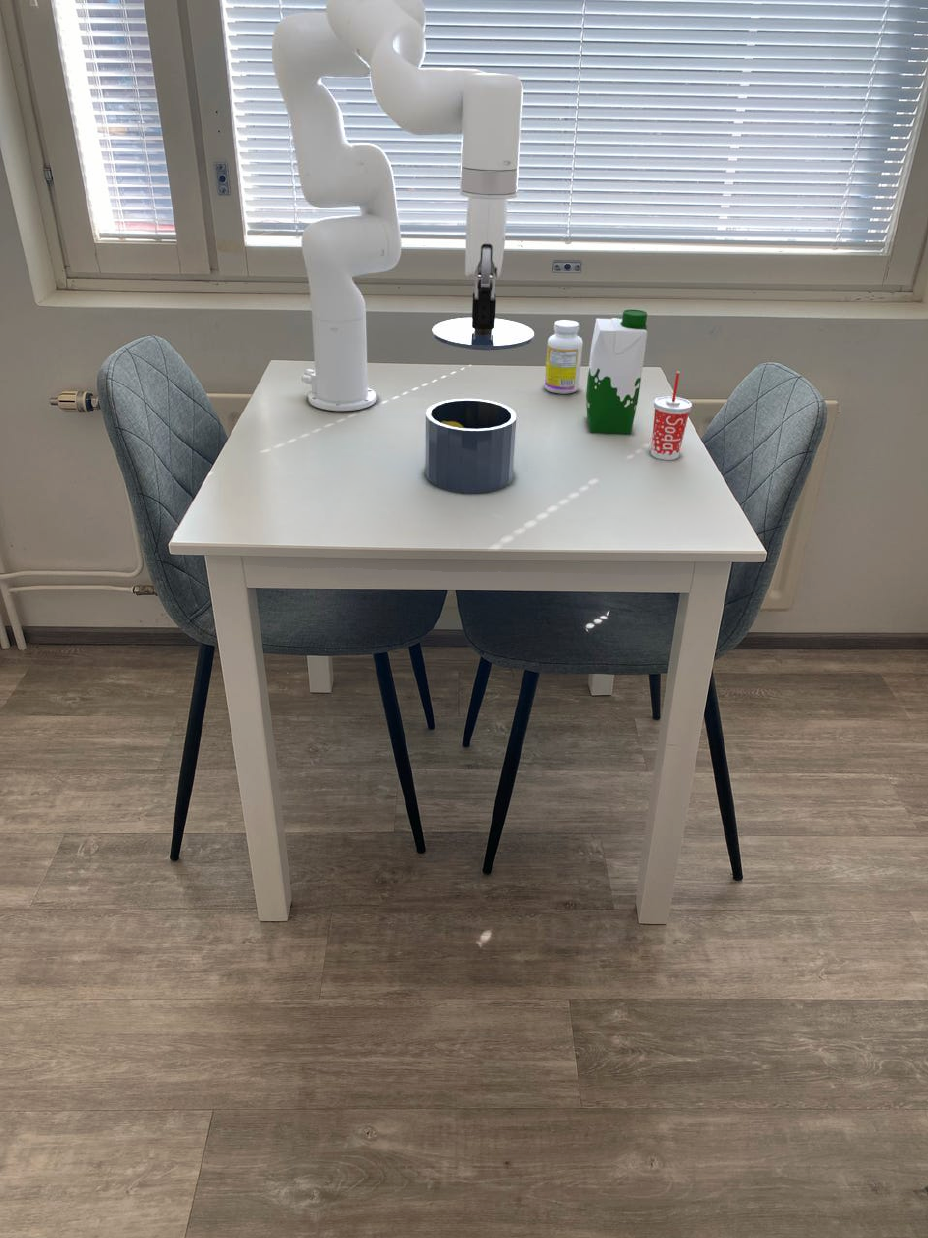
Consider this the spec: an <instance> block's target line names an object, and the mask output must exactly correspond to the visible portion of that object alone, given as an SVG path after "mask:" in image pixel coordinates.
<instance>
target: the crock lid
mask: <svg viewBox="0 0 928 1238" xmlns="http://www.w3.org/2000/svg"><path fill="white" fill-rule="evenodd" d="M478 299H479V297H478ZM490 299H491V297H490ZM431 333H432V337H433V338H434V339H435V340H437V341H438V342H440V343H442V344H445V345H448V346H452V347H456V348H461V349H466V350H473V351H502V350H511V349H517V348H520V347H524V346H527V345H529V344H530V343H532V342H533V341H534V339H535V332H534V330H533V329H532V328H530V327H529V326H527V325H525V324H523V323H520V322H516V321H511V320H506V319H501V318H495V327H494V329H473V328H472V317H462V318H460V317H459V318H454V319H448V320H445V321H441V322H439V323H437V324H435V325H433V328H432V331H431Z"/></svg>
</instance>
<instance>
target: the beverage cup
mask: <svg viewBox="0 0 928 1238" xmlns="http://www.w3.org/2000/svg"><path fill="white" fill-rule="evenodd" d="M680 373H681V372H680V371H676V373H675V379H674V384H673V385H674V386H673V392H672V396H669V395H668V396H659V397H656V398H655V399H654V400H653V408H654V414H653V415H654V416H653V425H652V436H651V449H650V455H651V456H652V457H654V458H656V459H659V460H664V461H672V460H673V461H674V460H675V459H678V458H679V457H680V451H681V447H682V444H683V439H684V435H685V431H686V428H687V427H686V426H687V423H688V419H689V415H690V412H691V411H692V407H693V403H692V402H691V401H690V400H688V399H686V398H683V397H678V396H677V391H678V390H677V389H678V385H679V380H680V379H679V378H680Z"/></svg>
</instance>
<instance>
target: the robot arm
mask: <svg viewBox="0 0 928 1238" xmlns="http://www.w3.org/2000/svg"><path fill="white" fill-rule="evenodd" d="M325 10H326V12H316V11H315V12H314V11H311V12H309V11H308V12H307V11H306V12H305V11H304V12H298V13H292V14H290V15H287V16H285V17H284V18H282V19H280V21H279V22H278V23H277V25H276V26H275V29H274V31H273V35H272V42H271V60H272V67H273V73H274V76H275V80H276V84H277V87H278V89H279V92H280V94H281V98H282V99H283V102H284V105H285V108H286V111H287V114H288V118H289V123H290V129H291V135H292V136H291V137H292V141H293V148H294V152H295V153H294V155H295V160H296V165H297V172H298V177H299V184H300V187H301V192H302V194H303V197H304V199H305V201H306V202H307V203H308V204H309V205H311V206H312V207H315V208H319V209H335V208H336V209H337V208H349V207H359V209H360V213H361V214H353V215H352V214H351V215H350V214H348V215H337V216H327V217H322V218H319V219H315V220H314V221H312V222H310V223H309V224H308V225H307V226H306V227H305V228H304V230H303V232H302V236H301V251H302V257H303V260H304V266H305V269H306V274H307V279H308V280H307V281H308V286H309V294H310V295H309V296H310V305H311V306H310V307H311V308H310V309H311V322H312V323H311V325H312V339H313V342H312V343H313V356H314V358H313V359H314V369H311V368H307V369H305V372H304V374H303V375H302V376H301V382H302V383H304V384H309V385H311V390H310V391H309V392H308V394H307V395H308V400H307V401H308V403H309V404H310V405H312V407H315V408H317V409H320V410H324V411H330V412H355V411H360V410H364V409H367V408H369V407H372V406H373V405H374V404H375V403H376V402H377V393H376V391H375V390H374V389H372V388H370V387H369V379H368V378H369V377H368V341H367V338H368V337H367V310H366V302H365V298H364V296H363V294H362V293H361V291H360V289H359V288H358V286H357V285H356V283H355V282H354V280H353V277H357V276H360V275H361V276H362V275H369V274H378V273H382V272H388V271H390V270H392V269H394V268H395V267H396V266H397V265H398V264H399V261H400V259H401V256H402V232H401V225H400V217H399V209H398V201H397V200H398V199H397V193H396V186H395V185H396V184H395V179H394V173H393V169H392V165H391V162H390V161H389V159H388V157H387V155H386V153H385V152H384V151H383V150H382V148H380V147H379V146H377V145H375V144H373V143H369V142H360V143H359V142H358V143H349V142H348V140H347V138H346V133H345V125H344V119H343V113H342V111H341V108H340V106H339V104H338V102H337V101H336V99H335V98H334V96H333V95H332V93H331V91H330V90H329V89H328V88H327V87H326V85H324V84H323V83H322V81H321V79H323V78H324V79H325V78H326V79H369V81H370V87H371V91H372V94H373V97H374V100H375V103H376V104H377V107H378V108H379V109H380V110H381V111H382V112H383V113H384V114H385V116H387V117H388V118H389V119H390V120H391V121H392V122H393V123H394V124H395V125H396V126H398V127H399V128H401V130H403V131H405V132H408V133H410V134H412V135H415V136H438V135H441V136H442V135H453V136H454V135H457V136H458V135H461V152H460V153H461V154H460V155H461V157H460V158H461V159H460V160H461V161H460V165H461V166H460V189H459V191H460V192H459V193H460V196H463V197H466V198H467V205H466V206H467V207H466V217H465V218H466V220H465V251H464V252H465V253H464V275H465V276H466V278H470V276H471V275H474V292H472V303H471V304H472V306H471V307H472V308H471V318H472V328H473V329H494V327H495V319H496V308H497V307H496V303H497V300H496V279H498V278H499V277H500V276H501V274H502V267H503V260H504V253H505V245H506V244H505V243H506V232H507V231H506V230H507V216H508V201H509V200H511V199H515V198H517V197H518V183H519V182H518V181H519V167H520V152H521V151H520V148H521V136H522V135H521V132H522V117H523V100H524V99H523V98H524V87H523V82H522V81H521V79H520V78H519V77H518V76H516V75H513V74H508V73H507V74H506V73H489V72H486V71H484V70H480V69H474V68H449V67H448V68H443V67H441V68H440V67H421V66H422V64H423V62H424V59H425V56H426V50H427V41H426V40H427V39H426V35H425V30H426V25H427V15H426V14H427V12H426V7H425V3H424V1H423V0H326V7H325ZM478 297H479V299H478ZM490 297H491V299H490Z"/></svg>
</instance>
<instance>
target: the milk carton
mask: <svg viewBox="0 0 928 1238" xmlns="http://www.w3.org/2000/svg"><path fill="white" fill-rule="evenodd" d="M647 319H648V312H646V311H644V310H639V309H626V310H623V312H622V317H621V318H617V317H616V318H615V317H611V318H596V319H595V324H594V329H593V335H592V338H591V339H592V341H591V345H590V354H589V362H588V371H587V382H586V391H585V405H586V406H585V407H586V417H587V418H586V419H587V423H588V427H589V430H590V433H591V434H593V433H595V434H619V435H620V434H621V435H631V434H632V430H633V426H634V422H635V416H636V414H637V413H636V412H637V408H638V403H639V397H640V396H639V395H640V389H641V384H642V383H641V382H642V380H641V379H642V377H643V376H642V374H643V367H644V362H645V361H644V360H645V354H646V347H647V346H646V345H647V339H648V338H647V337H648V329H647V328H648V327H647Z"/></svg>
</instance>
